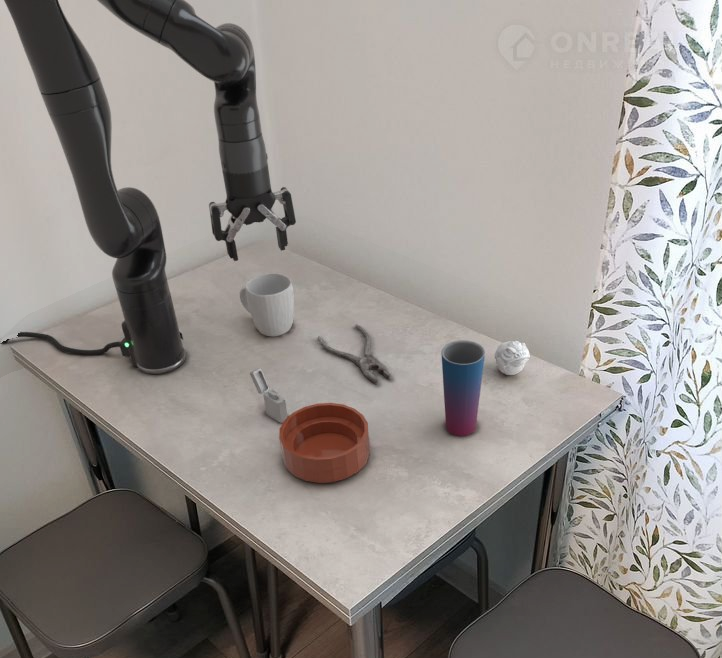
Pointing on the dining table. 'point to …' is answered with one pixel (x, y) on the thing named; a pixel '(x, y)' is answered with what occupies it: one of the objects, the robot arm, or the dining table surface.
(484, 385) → the dining table surface
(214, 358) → the dining table surface
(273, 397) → the lighter
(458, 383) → the cup
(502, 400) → the dining table surface
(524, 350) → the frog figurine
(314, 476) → the bowl
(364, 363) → the pliers
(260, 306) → the mug
